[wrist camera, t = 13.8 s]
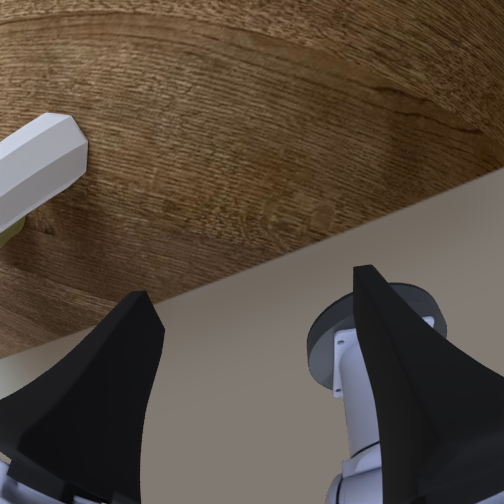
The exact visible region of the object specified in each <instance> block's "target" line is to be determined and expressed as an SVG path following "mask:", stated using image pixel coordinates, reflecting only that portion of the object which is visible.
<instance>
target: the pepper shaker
mask: <svg viewBox="0 0 504 504" xmlns="http://www.w3.org/2000/svg"><path fill="white" fill-rule="evenodd" d="M87 150H88V140H87V138H86V137H85V135H84V134H83V133H82V131H81V130H80V128H79V127H78V125H77V124H76V122H75V121H74V119H73V118H72V116H70V115H63V114H55V113H47V112H46V113H44V114H43V115H41V116H39V117H38V118H36V119H34V120H33V121H31V122H30V123H28V124H26V125H25V126H23V127H22V128H20V129H19V130H17V131H16V132H14V133H13V134H11V135H10V136H8V137H7V138H5V139H4V140H3V141H1V142H0V233H1V232H2V231H4V230H5V229H6V228H8V227H9V226H11V225H12V224H13V223H15V222H16V221H18V220H19V219H20V218H22V217H23V216H25V215H26V214H28V213H29V212H31V211H32V210H34V209H35V208H37V207H38V206H40V205H41V204H43V203H44V202H46V201H47V200H49V199H50V198H52V197H53V196H55V195H57V194H58V193H60V192H61V191H63V190H65V189H66V188H68V187H69V186H70V185H71V184H72V183H74V182H75V181H76V180H77V179H78V178H79V177H80V176H82V175H83V174H84V173H85V172H86V165H87Z"/></svg>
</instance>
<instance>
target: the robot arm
mask: <svg viewBox="0 0 504 504" xmlns="http://www.w3.org/2000/svg"><path fill="white" fill-rule="evenodd" d="M353 317H354V322H355V328H354V329H347V330H340V331H337V332H336V333H335V334H334V366H333V397H334V398H341V397H343V399H344V407H345V415H346V424H347V432H348V441H349V451H350V459H348V460H346V461H342V473H341V474H339V475H337V476H336V477H335V478H334V480H333V481H332V483H331V485H330V487H329V489H328V492H327V495H326V499H325V504H504V377H503V376H501V375H499V374H498V373H496V372H494V371H492V370H491V369H489V368H487V367H485V366H484V365H482V364H481V363H479V362H477V361H476V360H474V359H473V358H472V357H470V356H469V355H467V354H466V353H464V352H463V351H461V350H460V349H458V348H457V347H456V346H454V345H453V344H452V343H450V342H449V341H448V340H447V339H445V338H444V337H443V336H442V335H441V334H439V333H438V332H437V331H436V330H435V329H434V328H433V325H434V319H433V317H431V316H427V317H421V316H419V315H418V314H417V313H416V312H415V311H414V310H413V309H412V308H411V307H410V306H409V305H408V304H407V303H406V301H405V300H404V299H403V298H402V297H401V296H400V295H399V294H398V293H397V292H396V291H395V290H394V289H393V288H392V287H391V285H390V284H389V283H388V282H387V281H386V280H385V279H384V278H383V277H382V275H381V274H380V273H379V272H378V271H377V270H376V268H375V267H374V266H373V265H364V266H356V267H353ZM164 333H165V328H164V326H163V324H162V322H161V320H160V318H159V316H158V315H157V313H156V311H155V309H154V307H153V305H152V303H151V300H150V298H149V296H148V294H147V292H146V290H143V291H132V292H130V293H129V294H128V295H127V296H126V297H125V298H124V299H123V300H122V301H121V302H120V303H119V304H118V305H117V306H116V307H115V308H114V309H113V310H112V311H111V312H110V313H109V314H108V315H107V316H106V317H105V318H104V319H103V320H102V321H101V322H100V323H99V324H98V325H97V326H96V327H95V328H94V329H93V330H92V332H90V333H89V334H88V335H87V336H86V337H85V338H84V339H83V340H82V341H81V342H80V343H79V344H78V345H77V346H76V347H75V348H74V349H73V350H72V351H71V352H69V353H68V354H67V355H66V356H65V357H64V358H63V359H61V360H60V361H59V362H58V363H57V364H55V365H54V366H53V367H52V368H50V369H49V370H48V371H46V372H45V373H43V374H42V375H41V376H39V377H38V378H36V379H35V380H34V381H32V382H31V383H29V384H28V385H26V386H24V387H23V388H21V389H20V390H18V391H16V392H14V393H13V394H11V395H9V396H7V397H5V398H3V399H1V400H0V452H2V453H3V454H4V455H6V456H7V457H9V458H10V459H12V461H11V463H10V465H9V464H7V463H6V462H4V461H2V460H1V459H0V504H101V503H106V504H141V494H140V456H141V455H140V454H141V443H142V433H143V425H144V419H145V412H146V408H147V403H148V400H149V396H150V393H151V389H152V386H153V382H154V379H155V375H156V372H157V368H158V365H159V361H160V358H161V354H162V348H163V341H164ZM341 340H342V341H341Z"/></svg>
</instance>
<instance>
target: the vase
mask: <svg viewBox="0 0 504 504" xmlns="http://www.w3.org/2000/svg"><path fill="white" fill-rule="evenodd" d="M25 218H26V215H25V216H23V217H22V218H20V219H19V220H18V221H16V222H15V223H13V224H12V225H11V226H9V227H8V228H6V229H5V230H4V231H2V232H1V233H0V248H1V247H2V246H3V245H4V244H5V243H6V242H7V241H8V240H9V239H10V238H11V237H13V236H15V235H16V234H18V233H19V232H20V231H21V230H22V228H23V226H24V223H25Z"/></svg>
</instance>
